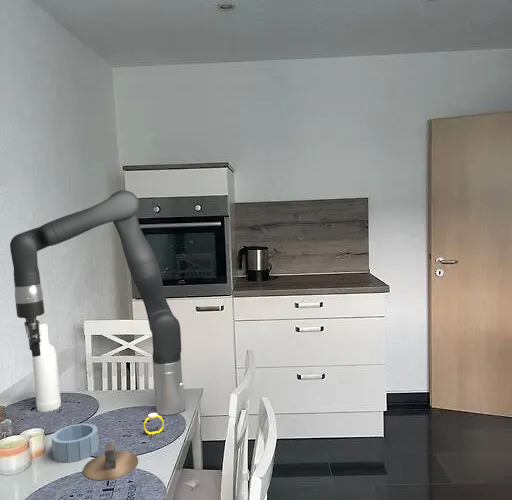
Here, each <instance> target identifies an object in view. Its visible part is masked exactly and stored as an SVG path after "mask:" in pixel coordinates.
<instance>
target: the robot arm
mask: <svg viewBox="0 0 512 500" xmlns="http://www.w3.org/2000/svg"><path fill="white" fill-rule="evenodd" d="M139 208H140V201H139V198H138V196H137V195H136V194H135V193H134V192H132V191H129V190H122V189H121V190H118V191H115V192H113V193H112V194H110V196H109V197H108V198H107V199H104V200H103V201H101V202H100V203H97V204H95V205H92V206H90V207H88V208H85V209H82V210H79V211H76V212H73V213H71V214H67V215H65V216H64V215H63V216H61V217H59V218H55V219H54V220H51V221H48V222H46V223H44V224H43V225H41V226H39V227H35V228H32V229H29V230H26V231H23V232H20V233H18V234H16V235H14V236H13V237H12V239H11V241H10V244H9V248H10V249H9V251H10V254H11V255H10V256H11V261H12V266H13V281H14V300H15V309H16V316H17V318H19V319H24V320H25V321H24V322H23V323H24V324H23V325H24V328H25V334H26V335H27V336H26V337H27V339H28V346H29V351H31V355H32V356H33V357H37V356H40V355H41V354H40V345H39V343H40V341H41V340H40V324H41V323H40V321H39V320H38V319H37V317H38V316H39V317H40V316H43V315H44V314H45V306H44V305H45V303H44V295H43V294H44V293H43V289H42V284H41V275H40V270H39V269H40V268H39V265H38V263H39V262H38V252H39V251H41V250H44V249H46V248H48V247H52V246H56V245H59V244H61V243H63V242H66V241H68V240H71V239H74V238H75V237H78V236H80V235H82V234H84V233H86V232H87V231H88V232H89V231H91V230H92V229H95V228H97V227H100V226H102V225H106V224H109V223H112V222H113V224H114V228H115V229H116V231H117V234H118V236H119V238H120V239H119V240H120V243H121V246H122V250H123V254H124V256H125V259H126V264H127V267H128V271H129V273H130V276H131V278H132V281H133V284H134V285H135V287H136V289H137V292H138V294H139V295H140V297H141V300H142V302H143V305H144V308H145V311H146V315H147V316H146V317H147V319H148V320H147V321H148V326H149V331H150V332H151V336H152V364H153V378H154V393H155V395H154V397H155V409H156V413H157V414H158V415H160V416H172V415H173V416H174V415H176V414H179V413H181V412H186V410H185V409H186V406H185V405H186V404H185V392H184V391H185V390H184V381H183V372H182V369H183V367H182V359H181V355H182V336H181V334H182V333H181V332H182V331H181V325H180V321H179V319H178V318H177V317H176V316H175V315H174V314H173V312H172V309H171V308H170V305H169V303H168V301H167V299H166V295H165V290H164V285H163V279H162V275H161V270H160V267H159V264H158V261H157V258H156V255H155V253H154V251H153V249H152V247H151V245H150V243H149V242H148V240H147V238H146V237H145V235H144V233H143V231H142V227H141V226H140V223H139V217H138V215H137V213H138V211H139Z"/></svg>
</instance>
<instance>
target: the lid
mask: <svg viewBox="0 0 512 500" xmlns="http://www.w3.org/2000/svg"><path fill="white" fill-rule="evenodd" d="M138 465H139V459H138V456H137V454H134V453H132V452H129V451H116V443H115V441H110V442H105V444H104V453H103V454H101V455H98V456H96V457H94V458H92V459H91V460H89V461H88V462H87V463H86V464H85V465H84V467H83V475H84V476H85V478H87V479H89V480H93V481H97V482H99V481H111V480H115V478H116V479H118V478H121V476H122V477H124V476H126V475H129V474H130V473H131V472H132V471H134V470H135V469H136V468H137V467H138Z"/></svg>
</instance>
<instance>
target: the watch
mask: <svg viewBox="0 0 512 500" xmlns="http://www.w3.org/2000/svg"><path fill="white" fill-rule="evenodd" d="M157 418H159V419H160V420H161V422H162V424H161V428H159V429H158V430H156V431H149V430H147V428H146V423H148V421H149V420H152V419H153V420H154V419H157ZM164 427H165V422H164V418H163V417H162V415H160V414H158V413H157V412H151V413H149V414H148V416H147V417H146V418H145V420H144V421H143V430H144V432H145V433H146V434H147V435H149V436H151V434H152V435H156V433H158V434H160V433H162V432H163V430H164Z"/></svg>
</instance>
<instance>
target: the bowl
mask: <svg viewBox="0 0 512 500" xmlns="http://www.w3.org/2000/svg"><path fill="white" fill-rule="evenodd" d="M98 431H99V430H98V426H96V425H95V424H93V423H85V422H83V423H75V424H71V425H67V426H64V427H62V428H60V429H58V430H57V431H55V432H54V433H52V436H51V447H52V458H53V460H55V461H56V462H58V463H67V464H68V463H73V462H79V461H83V460H85V459H88V458H90V457H92V456H93V455H95V454H94V453H97V452H98V451H99V447H100V445H99V444H100V443H99V442H100V441H99V434H98V433H99V432H98Z"/></svg>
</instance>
